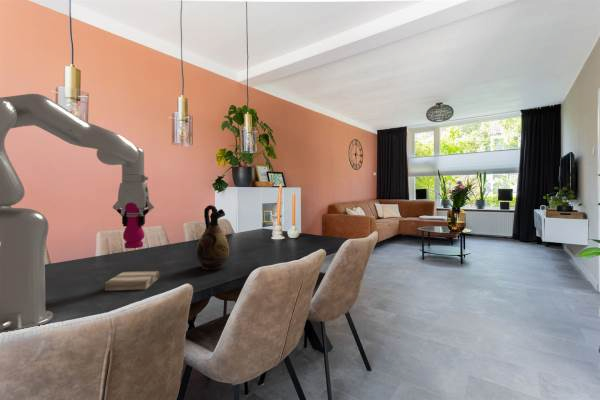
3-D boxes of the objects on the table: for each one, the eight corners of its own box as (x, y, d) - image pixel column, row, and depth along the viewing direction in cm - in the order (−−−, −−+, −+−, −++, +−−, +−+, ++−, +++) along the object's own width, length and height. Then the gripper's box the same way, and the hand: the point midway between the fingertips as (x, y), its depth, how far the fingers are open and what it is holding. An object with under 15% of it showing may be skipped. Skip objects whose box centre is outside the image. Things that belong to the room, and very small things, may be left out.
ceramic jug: (236, 266, 142) (236, 205, 141) (211, 273, 129) (211, 206, 128) (212, 261, 151) (212, 204, 150) (186, 268, 138) (186, 205, 137)
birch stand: (145, 289, 108) (145, 281, 107) (105, 290, 106) (105, 282, 106) (158, 278, 121) (158, 271, 121) (123, 279, 120) (123, 271, 119)
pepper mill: (148, 245, 116) (148, 196, 115) (134, 249, 109) (134, 196, 108) (133, 244, 118) (132, 195, 117) (118, 248, 110) (117, 196, 110)
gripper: (159, 180, 117) (160, 224, 118) (114, 179, 115) (115, 225, 116) (152, 179, 110) (153, 227, 110) (104, 178, 108) (105, 227, 108)
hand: (133, 225), depth 113 cm, fingers closed on pepper mill, 5 cm apart
